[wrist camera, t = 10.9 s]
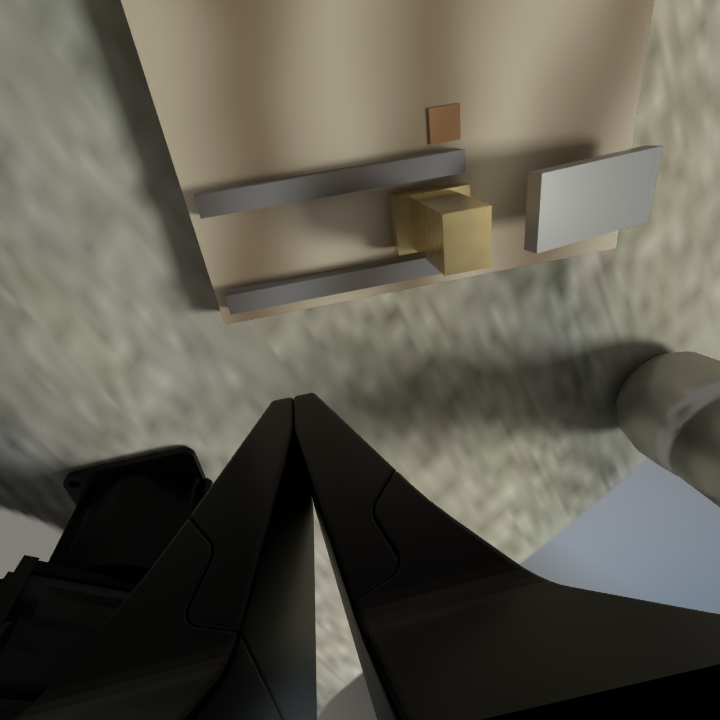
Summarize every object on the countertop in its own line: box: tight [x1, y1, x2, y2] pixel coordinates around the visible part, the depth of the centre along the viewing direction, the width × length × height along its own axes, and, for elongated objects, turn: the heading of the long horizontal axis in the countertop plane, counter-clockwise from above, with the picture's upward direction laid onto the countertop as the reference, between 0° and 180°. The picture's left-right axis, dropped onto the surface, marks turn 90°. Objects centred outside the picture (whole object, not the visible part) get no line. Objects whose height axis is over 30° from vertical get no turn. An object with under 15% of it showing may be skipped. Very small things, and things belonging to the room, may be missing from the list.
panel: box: [121, 0, 654, 325], centre depth 15 cm, size 18×18×4 cm
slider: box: [389, 182, 492, 276], centre depth 16 cm, size 3×2×4 cm
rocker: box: [524, 146, 663, 254], centre depth 17 cm, size 6×3×1 cm, turn 97°
